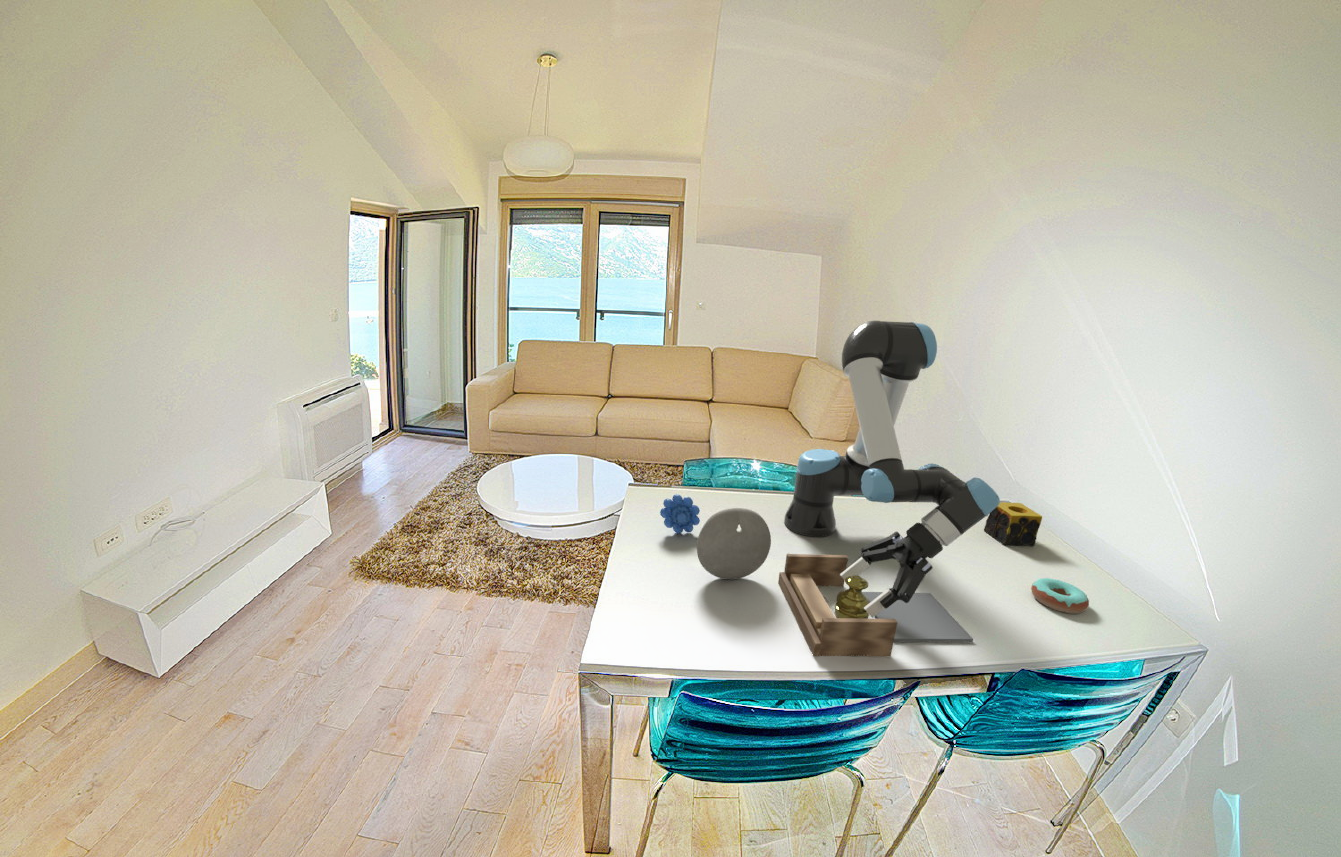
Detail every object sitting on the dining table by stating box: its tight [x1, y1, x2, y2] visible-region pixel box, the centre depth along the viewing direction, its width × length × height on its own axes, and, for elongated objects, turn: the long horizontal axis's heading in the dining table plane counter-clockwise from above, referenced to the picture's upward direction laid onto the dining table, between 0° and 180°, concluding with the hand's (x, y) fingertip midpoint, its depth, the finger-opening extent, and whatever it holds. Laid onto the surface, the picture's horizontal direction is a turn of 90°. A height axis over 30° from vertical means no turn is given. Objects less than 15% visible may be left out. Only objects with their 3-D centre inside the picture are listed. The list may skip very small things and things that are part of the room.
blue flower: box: [659, 493, 701, 534], centre depth 162 cm, size 12×7×12 cm, turn 100°
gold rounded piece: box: [834, 575, 870, 619], centre depth 129 cm, size 7×7×10 cm
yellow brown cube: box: [983, 501, 1043, 547], centre depth 174 cm, size 10×10×10 cm
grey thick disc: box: [696, 507, 772, 580], centre depth 140 cm, size 18×7×19 cm, turn 100°
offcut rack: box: [777, 553, 897, 657], centre depth 128 cm, size 16×27×8 cm, turn 5°
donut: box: [1030, 577, 1090, 614], centre depth 141 cm, size 12×12×4 cm
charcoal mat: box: [862, 591, 974, 643], centre depth 131 cm, size 18×18×1 cm
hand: (855, 595), depth 128 cm, fingers open, 13 cm apart
